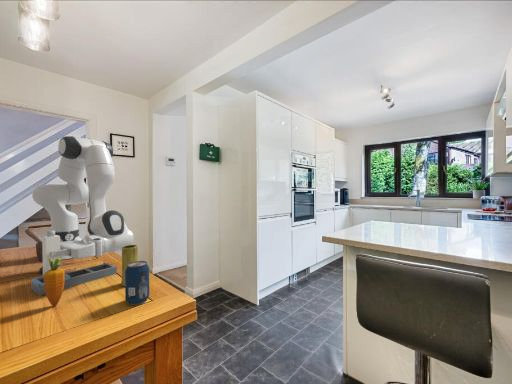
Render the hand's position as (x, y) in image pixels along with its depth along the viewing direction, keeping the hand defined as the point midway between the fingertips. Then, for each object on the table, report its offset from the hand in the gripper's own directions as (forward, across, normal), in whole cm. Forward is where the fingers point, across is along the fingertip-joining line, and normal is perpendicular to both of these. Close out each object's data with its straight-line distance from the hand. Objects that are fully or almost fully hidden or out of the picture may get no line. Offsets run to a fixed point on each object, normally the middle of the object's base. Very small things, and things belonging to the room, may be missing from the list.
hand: (48, 253), depth 84 cm
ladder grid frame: (-9, 0, +13) cm, 16 cm away
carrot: (+3, +18, +13) cm, 22 cm away
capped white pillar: (-1, 0, +8) cm, 8 cm away
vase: (-19, +20, +13) cm, 30 cm away
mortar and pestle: (-5, -24, +13) cm, 28 cm away
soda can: (-13, +36, +14) cm, 40 cm away
